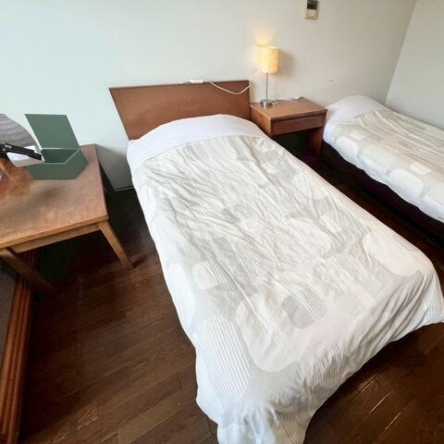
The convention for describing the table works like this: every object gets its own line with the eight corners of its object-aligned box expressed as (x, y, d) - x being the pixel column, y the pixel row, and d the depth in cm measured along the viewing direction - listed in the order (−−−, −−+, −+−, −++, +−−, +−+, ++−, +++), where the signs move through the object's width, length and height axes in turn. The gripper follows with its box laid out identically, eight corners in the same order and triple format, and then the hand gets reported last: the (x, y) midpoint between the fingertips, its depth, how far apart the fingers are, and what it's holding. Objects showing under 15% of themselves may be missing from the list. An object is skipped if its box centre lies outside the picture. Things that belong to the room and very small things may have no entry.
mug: (19, 165, 119) (7, 149, 115) (45, 160, 124) (35, 144, 120) (15, 171, 111) (2, 153, 107) (43, 165, 116) (32, 148, 112)
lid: (65, 115, 135) (70, 113, 139) (24, 113, 132) (30, 112, 136) (79, 148, 145) (84, 145, 149) (41, 148, 142) (47, 145, 146)
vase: (47, 155, 155) (16, 109, 136) (48, 164, 148) (15, 117, 129) (20, 160, 149) (-16, 112, 130) (20, 170, 142) (-19, 120, 123)
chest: (74, 179, 140) (64, 163, 133) (34, 179, 137) (22, 164, 130) (88, 163, 152) (80, 148, 146) (52, 163, 149) (42, 148, 143)
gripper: (-65, 150, 93) (-5, 165, 114) (10, 151, 97) (54, 165, 118) (-65, 131, 93) (-5, 149, 115) (10, 132, 97) (54, 150, 118)
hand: (25, 157), depth 116 cm, fingers closed on mug, 12 cm apart
